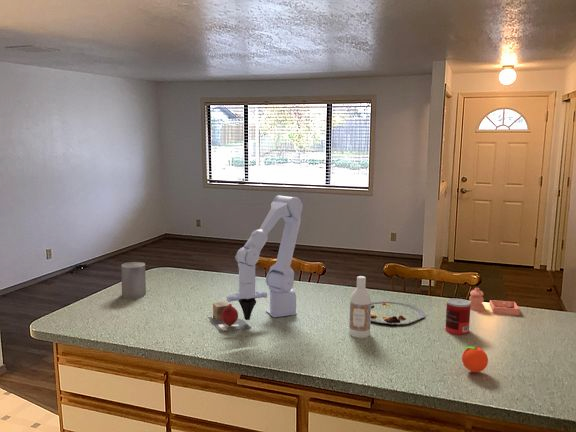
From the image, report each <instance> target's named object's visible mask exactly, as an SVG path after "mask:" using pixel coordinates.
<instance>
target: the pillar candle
mask: <svg viewBox="0 0 576 432" xmlns="http://www.w3.org/2000/svg"><path fill="white" fill-rule="evenodd" d="M120 268H121V269H120V270H121V271H120V272H121V273H120V275H121V277H120V278H121V297H122V298H124V299H128V298H129V299H131V298H133V299H138V298H143V297H145V296H146V295H147V284H146V282H147V281H146V279H147V278H146V263H145V262H139V261H131V262H130V261H129V262H124V263H122V264H121V266H120Z"/></svg>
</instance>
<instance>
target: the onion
mask: <svg viewBox="0 0 576 432" xmlns="http://www.w3.org/2000/svg"><path fill="white" fill-rule="evenodd" d="M228 304H229V305H228V306H227V307H226V308H225V309H224V310H223V311H222V315H221V318H222V321H223V322H224V323H225V324H226V325H228V326H232V325H233V324H234V323H235V322H236V321H237V319H239V313H238V310H237V309H236V308H235V307H234V306H232V305H233V304H232V303H228Z"/></svg>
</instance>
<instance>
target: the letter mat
mask: <svg viewBox="0 0 576 432" xmlns="http://www.w3.org/2000/svg"><path fill="white" fill-rule="evenodd" d="M207 318H208V319H209V321H210V320H211V321H210V322H211V323H212V325H214V326H215V327H216V329H217V330H218V331H219V332H220V333H226V332H232V331H233V332H235V331H239V330H245V329H246V330H247V329H252V327H251V326H250V325H249V323H247V322H246V320H245V319H244V318H238V319H237V321H236V322H235V323H234V324H233V325H232V326H228V325H226V324H225V323H224V322H223V321H222V320H216V319H215V318H214V317H213V318H212V317H207ZM241 319H242V320H241Z"/></svg>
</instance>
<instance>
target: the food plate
mask: <svg viewBox="0 0 576 432" xmlns="http://www.w3.org/2000/svg"><path fill="white" fill-rule="evenodd" d="M377 304H378V305H381V304H382V305H381V307H382V306H387V307H392V305H397V306H398V305H400V306H402V307H403V306H404V307H408V308H409V310H413V311H416V313H418V314H419V317H417V318H416V319H415V320H413V321H408V322H401V321H404V320H406V319H407V318H406V317H404V316H403V315H402V314H400V315H399V316H398V317H397V316H394V315H393V316H390V317H389V316H388V314H386V317H385V316H382V317H381V316H380V315H383V313H380V315H378V314H376V312H373V311H372V309H373V308H375V305H377ZM377 317H379V318H380V317H381V319H382V320H383V321H381V320H377V319H376V318H377ZM424 318H426V314H425V313H424V312H423V311H422V310H421V308H418V307H416V306H413V305H411V304H407V303H404V302H397V301H387V300H386V301H385V300H384V301H381V300H380V301H372V302H371V322H373V323H376V324H384V325H385V324H386V325H387V326H388V325H390V326H391V325H392V326H393V325H395V326H400V325H403V326H406V325H408V324H411V323H415V322H417V321H419V320H420V319H424ZM384 321H385V322H384Z"/></svg>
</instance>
